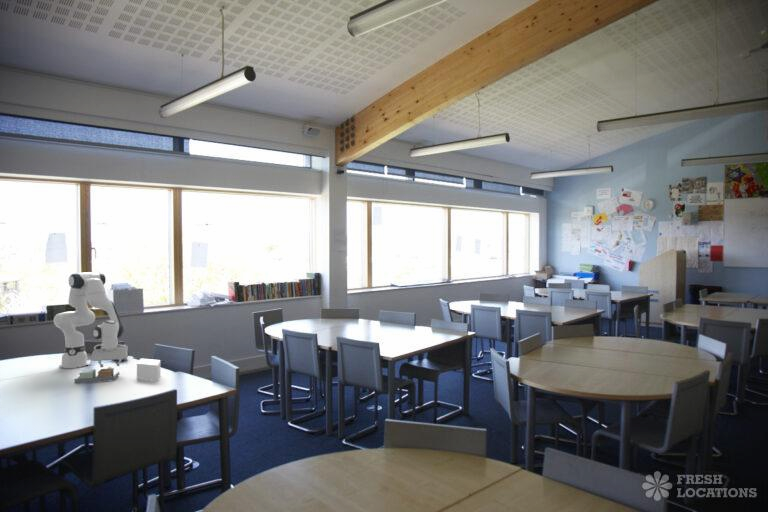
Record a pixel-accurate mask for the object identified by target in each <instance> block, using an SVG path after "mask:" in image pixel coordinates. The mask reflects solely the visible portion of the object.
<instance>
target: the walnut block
mask: <svg viewBox="0 0 768 512" xmlns="http://www.w3.org/2000/svg"><path fill="white" fill-rule="evenodd" d="M97 375H98V377H111V376H114V375H115V373H114V368H112V367H111V366H108V367H107V368H101V369H99V371H98V372H97Z"/></svg>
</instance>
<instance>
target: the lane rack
mask: <svg viewBox="0 0 768 512" xmlns="http://www.w3.org/2000/svg"><path fill="white" fill-rule="evenodd" d="M118 375H119V376H120V371H117V372H116V373H114V376H111V377H98V374H97V375H96V377H95V378H81V379H80V375H79V376H78V377H76V378H75V379H74V384H84V383H83V382H87V383H97V382H98V381H102V382H110V381H109V380H116V379H118V378H119V376H118ZM98 383H99V382H98Z"/></svg>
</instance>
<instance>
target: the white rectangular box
mask: <svg viewBox="0 0 768 512" xmlns="http://www.w3.org/2000/svg"><path fill="white" fill-rule="evenodd" d="M159 376H160V377H161V360H160V359H152V358H151V359H150V358H143V357H142V358H140V359H139V360H138V361H137V363H136V380H137V379H141V380H140V381H146V380H152V381H151V382H156V381H158V382H159V380H158V379H160V377H159Z"/></svg>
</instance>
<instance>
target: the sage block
mask: <svg viewBox="0 0 768 512" xmlns="http://www.w3.org/2000/svg"><path fill="white" fill-rule="evenodd" d="M96 372H97V371H96V369H94V368H93V369H82V370H81V371H80V372H79V376H80V379H81V378H95V377H96V376H97V375H96Z"/></svg>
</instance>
